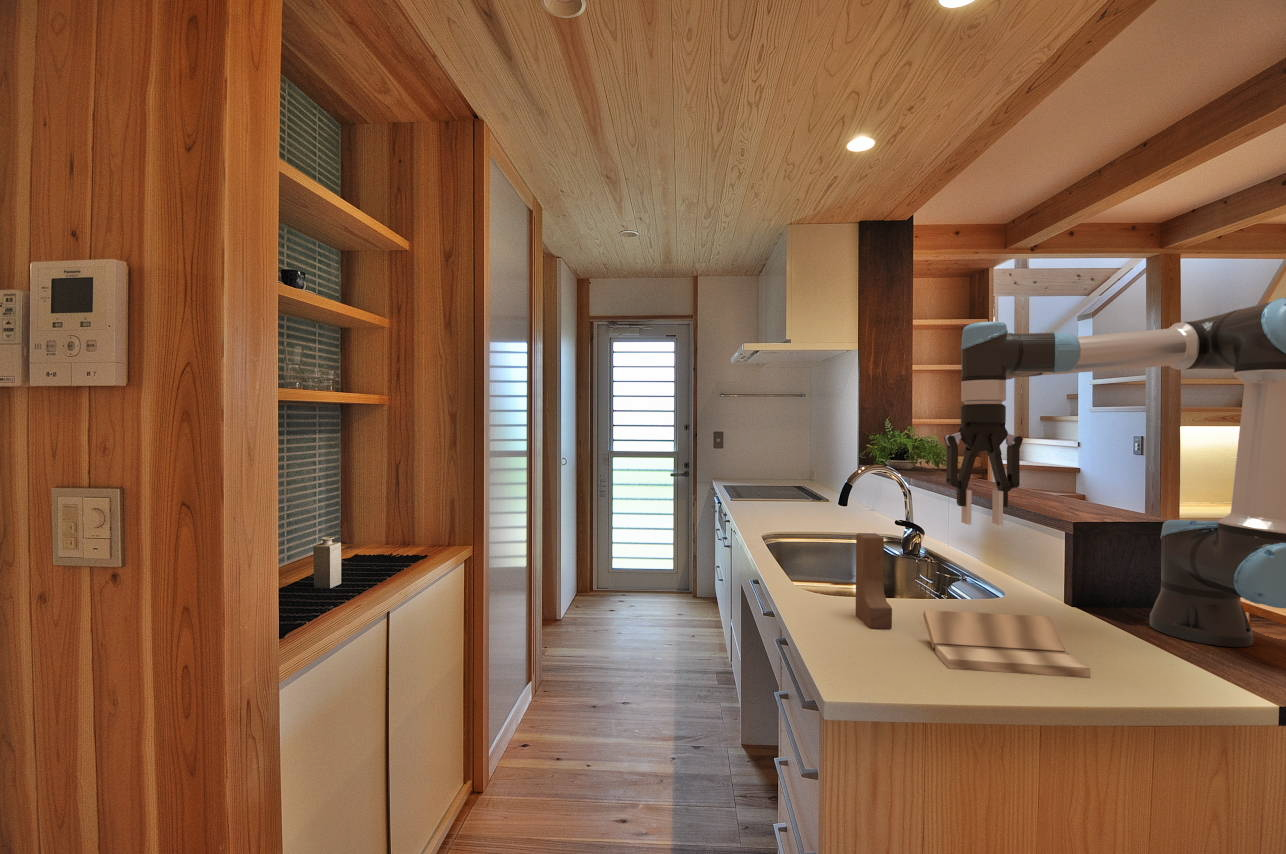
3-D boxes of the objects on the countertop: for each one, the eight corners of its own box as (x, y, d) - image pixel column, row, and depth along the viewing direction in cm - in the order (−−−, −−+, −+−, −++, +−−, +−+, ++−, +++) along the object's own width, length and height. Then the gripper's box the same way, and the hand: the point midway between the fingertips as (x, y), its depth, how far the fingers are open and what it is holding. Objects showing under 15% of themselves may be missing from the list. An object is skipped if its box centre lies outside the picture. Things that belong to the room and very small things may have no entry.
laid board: (1067, 661, 103) (1067, 652, 103) (1090, 677, 96) (1090, 667, 96) (935, 653, 106) (935, 644, 106) (948, 668, 100) (948, 658, 99)
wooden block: (892, 629, 118) (893, 541, 118) (870, 629, 119) (871, 540, 119) (875, 615, 127) (876, 533, 127) (854, 614, 128) (855, 532, 128)
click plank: (1046, 621, 110) (1049, 616, 109) (1062, 655, 104) (1065, 650, 103) (922, 614, 113) (924, 610, 112) (932, 647, 107) (934, 643, 106)
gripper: (1023, 404, 115) (1022, 522, 115) (927, 404, 117) (926, 519, 117) (1044, 402, 107) (1042, 528, 107) (940, 402, 110) (939, 525, 110)
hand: (981, 523), depth 112 cm, fingers open, 5 cm apart
